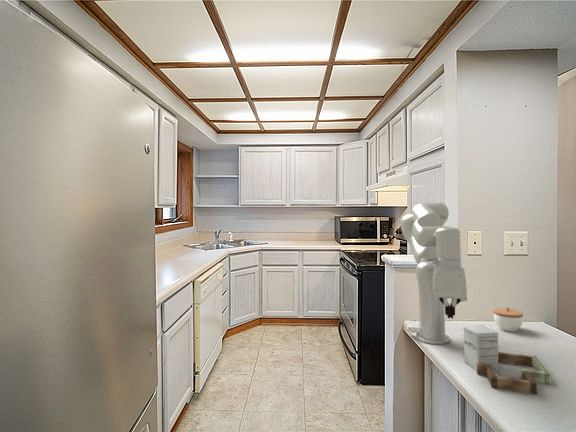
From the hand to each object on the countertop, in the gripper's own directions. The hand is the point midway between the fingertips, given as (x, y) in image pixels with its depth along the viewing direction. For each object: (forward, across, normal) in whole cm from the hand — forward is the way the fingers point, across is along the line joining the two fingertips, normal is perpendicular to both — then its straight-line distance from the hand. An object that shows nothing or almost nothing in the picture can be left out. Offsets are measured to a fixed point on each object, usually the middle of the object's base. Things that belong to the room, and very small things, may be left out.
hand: (450, 317), depth 112 cm
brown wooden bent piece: (+16, +15, -10) cm, 24 cm away
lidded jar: (+16, +26, +42) cm, 52 cm away
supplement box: (+16, +9, 0) cm, 18 cm away
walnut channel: (+16, +16, 0) cm, 22 cm away
